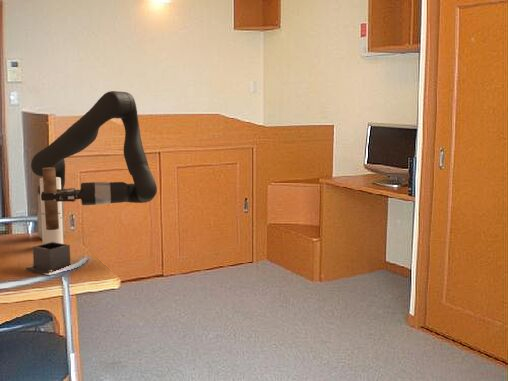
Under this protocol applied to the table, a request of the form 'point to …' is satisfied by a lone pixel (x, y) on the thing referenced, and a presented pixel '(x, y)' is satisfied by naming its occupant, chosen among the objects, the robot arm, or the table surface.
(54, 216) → the walnut rail
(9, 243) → the table surface
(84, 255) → the table surface
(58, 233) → the cream tall block
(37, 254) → the dark grey open box
